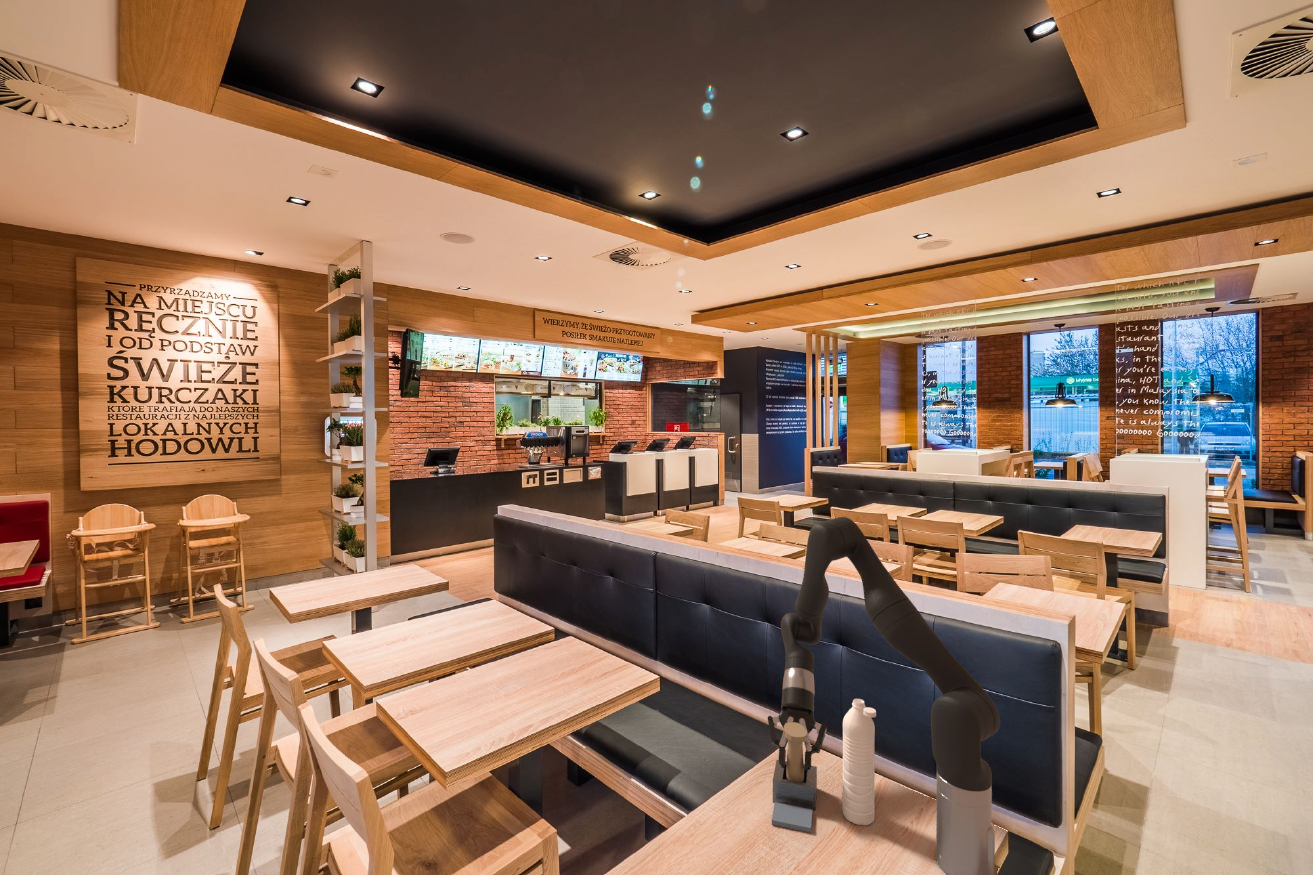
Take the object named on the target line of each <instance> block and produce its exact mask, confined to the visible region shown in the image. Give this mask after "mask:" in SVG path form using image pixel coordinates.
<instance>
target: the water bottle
mask: <svg viewBox="0 0 1313 875" xmlns="http://www.w3.org/2000/svg"><path fill="white" fill-rule="evenodd" d="M851 705H852V707H851V708H849V709H848V711H847V712H846V714H845V715H844V717H843V719H842V809H841V810H842V814H843V816H844V818H845V820H847V821H848V822H850V823H852V824H854V825H858V826H869V825H870V824H872V823H873V822H874V821H875V776H876V774H875V765H876V764H875V735H876V734H875V733H876V732H875V726H876V725H875V723H874V720H873V719H872V718H876V717H877V711H876V709H875V708H873V707H869V706H866V704H865V700H864V699H861V698H854V699H853V700H852V703H851Z"/></svg>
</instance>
